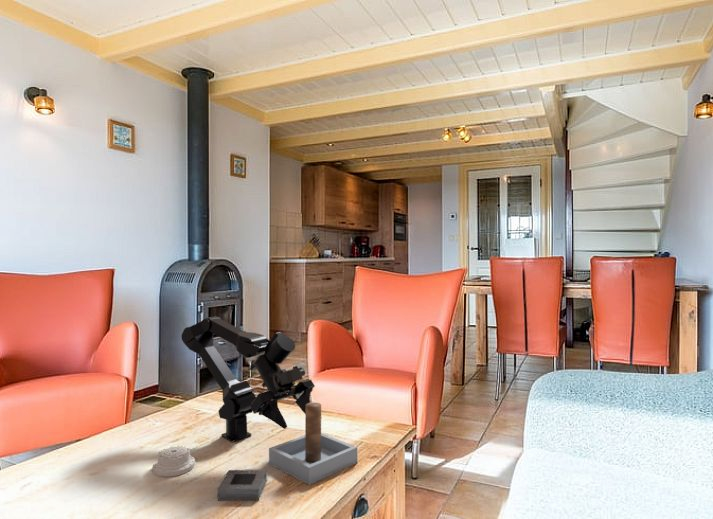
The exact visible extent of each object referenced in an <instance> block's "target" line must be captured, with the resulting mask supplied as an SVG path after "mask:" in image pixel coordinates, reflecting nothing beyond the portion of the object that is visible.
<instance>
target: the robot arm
mask: <svg viewBox="0 0 713 519" xmlns="http://www.w3.org/2000/svg"><path fill="white" fill-rule="evenodd" d="M214 335H215V336H217V337H218V338H221V339H222V340H224V341H226V342H229V343H230V344H232V345H233V346H235V348H236V351H237V352H238V353H239V354H240V355H241V356H242V357H244V358H245V359H249V358H250V359H251V358H254V357H257V358H255V359H252V360H251V364H250V367H249V370H250V371H255V370H257V372H258V374H259V376H260V378H261V379H262V383H261V386H262V388H266V389H267V391H262V392H259V393H257V395H256V394H255V393H254V391H255V389H253V388H252V386H250V383H249V381H247V380H243V381H239V380H238V379H237V377H236V376H235V375H234V373H233V372H232V371H231V369H230V368H229V366H228V365H227V363H226V362H225V360H224V359H223V358H222V356H221V354H220V353H219V351H218V350H217V348H216V347H215V346H214ZM181 340H182V343H183V344H184V345H185V346H186V347H187V348H188V350H189V351H192V352H194V353H196V354H197V355H199V357H200V358H201V360H202V362H204V365H205V366H206V367H207V369H208V370H209V372H210V374H211V375H212V377H213V378H214V380H215V381H216V382H217V385H218V386H219V387H220V389H221V390H222V402H223V405H222V406H221V407H220V408H219V410H218V416H219V418H220V419H223V420H225V432H224V433H222V434H220V435H221V437H222V438H224V439H227V440H228V441H230V442H235V441H239V440H242V439H246V438H248V437H251V436H252V433H251V432H248V419H247V418H248V416H247V415H248V414H251V413H253V414H254V415H255V414H258V415H259V416H263V417H265V418H267V419H268V420H270V421H272V422H273V423H275V424H277V425H278V426H280V427H281V428H283V429H284V430H285V429H287V428H288V425H287V422H286V420H285V417H284V416H283V414H282V412H281V410H280V409H279V405H278V401H281V400H285V399H288V398H290V397H292V398H293V399H295V402H294V403H295V404H296V405H297V406H298V407H299V408H300V410H301V411H302V412H303V413H304V414H305V415H306V404H308V403H311V399H310V398H311V393H312V392H313V389H314V388H315V384H314V382H313V381H312V379H309V378H307V379H304V380H303V376H305V375H306V371H305V368H304V367H303V365H302V364H296V365H295V366H292V369H289V370H286V369H285V368H284V369H282V368H281V366H280V365H279V364H282V363H284V362H285V360H287V358H288V357H289V356H290V355H291V354H292V353H293V352H294V350H295V349H296V344H295V342H294V340H293V339H291V337H289V336H287V335H285V334H283V332H282V331H278V332H275V333H274V334H273V336H272V338H270V339H269V338H267V337H266V336H265V335H264V334H261V333H258V332H251V331H250V332H249V331H245V330H243V329H241V328H239V327H236V326H235V325H233V324H231V323H229V322H227V321H225V320H223V319H222V318H221V317H219V316H211V317H205V318H203V319H202V320H200V321H198V322H197V323H194V324H193V325H191V326H187V327H185V328H184V329H183V331H182V333H181ZM297 381H299V382H298V383H297V384H296V382H297ZM295 384H296V385H295ZM293 386H294V387H293Z"/></svg>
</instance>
